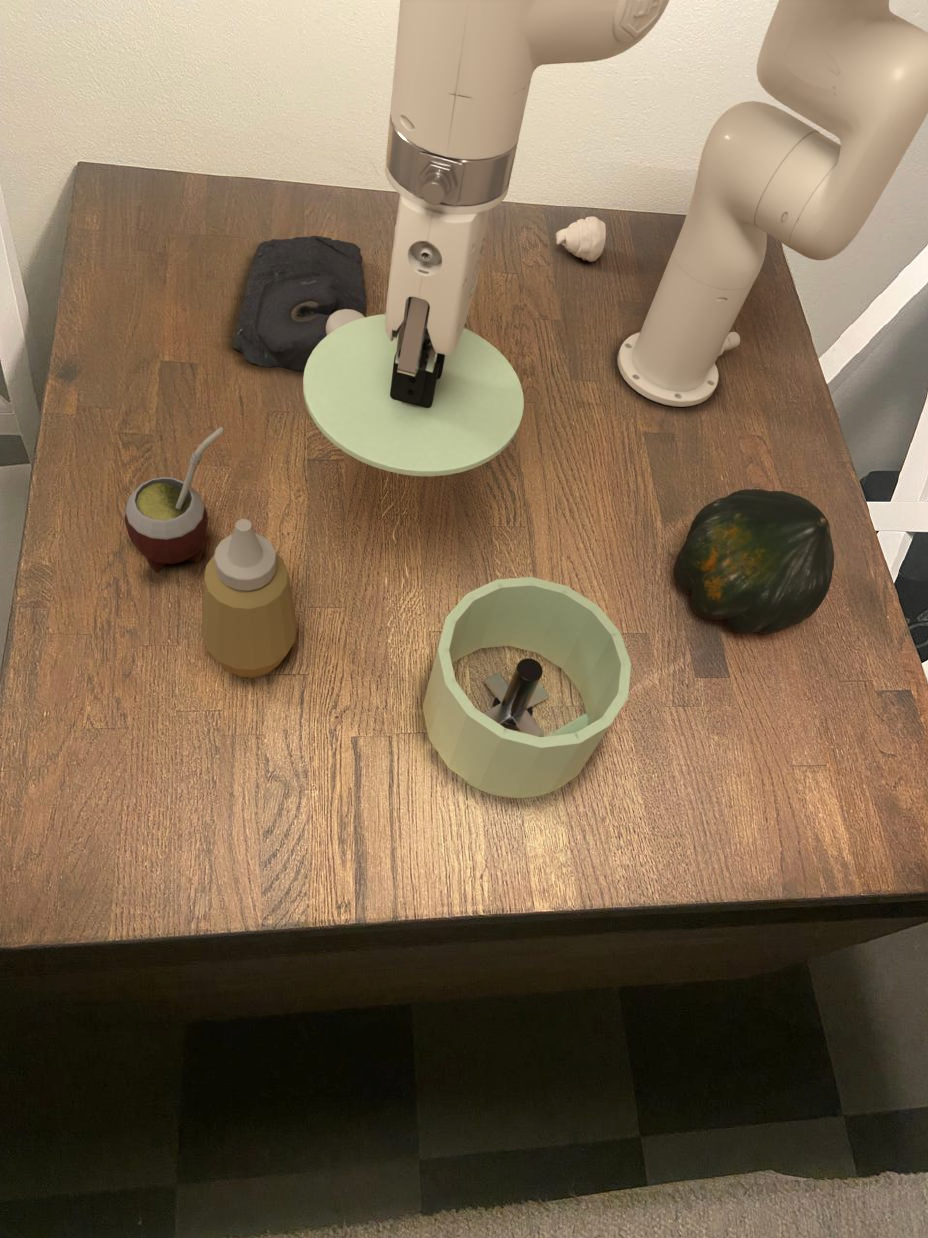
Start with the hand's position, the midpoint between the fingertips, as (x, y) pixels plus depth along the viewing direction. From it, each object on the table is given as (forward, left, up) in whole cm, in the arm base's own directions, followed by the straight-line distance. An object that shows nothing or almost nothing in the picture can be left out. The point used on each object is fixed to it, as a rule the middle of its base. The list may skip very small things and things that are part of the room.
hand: (416, 385), depth 69 cm
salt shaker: (-7, -20, -24) cm, 32 cm away
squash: (-31, +19, -24) cm, 43 cm away
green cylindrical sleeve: (-2, +19, -24) cm, 31 cm away
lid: (0, 0, -1) cm, 1 cm away
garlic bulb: (-50, -33, -24) cm, 65 cm away
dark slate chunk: (-12, -37, -24) cm, 46 cm away
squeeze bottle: (+15, +2, -24) cm, 29 cm away
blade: (-2, +19, -24) cm, 30 cm away
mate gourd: (+16, -11, -24) cm, 32 cm away
